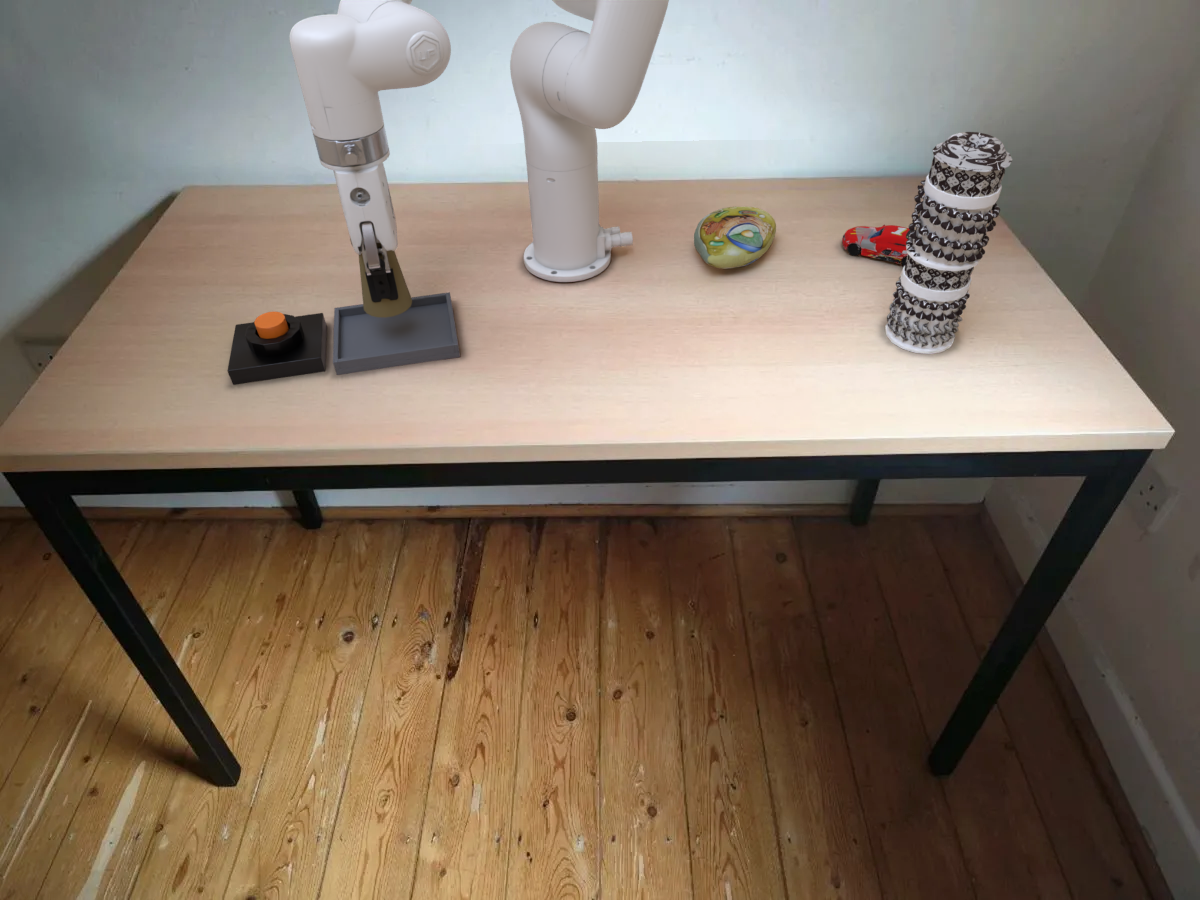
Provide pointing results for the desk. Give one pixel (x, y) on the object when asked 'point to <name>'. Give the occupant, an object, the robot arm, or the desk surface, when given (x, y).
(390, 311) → the olive rounded lobed piece
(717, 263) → the cell model
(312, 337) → the control block
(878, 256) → the race car
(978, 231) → the black white cylinder
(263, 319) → the button
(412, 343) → the tray
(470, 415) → the desk surface
